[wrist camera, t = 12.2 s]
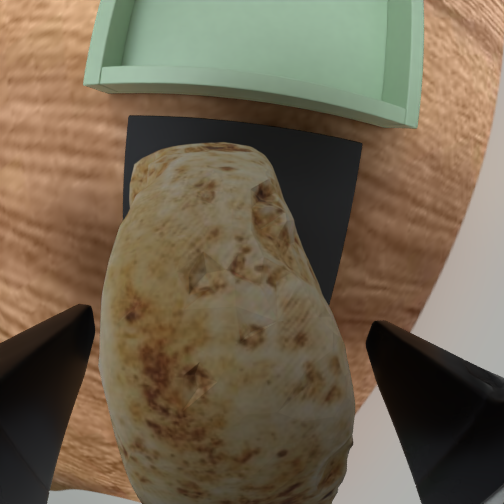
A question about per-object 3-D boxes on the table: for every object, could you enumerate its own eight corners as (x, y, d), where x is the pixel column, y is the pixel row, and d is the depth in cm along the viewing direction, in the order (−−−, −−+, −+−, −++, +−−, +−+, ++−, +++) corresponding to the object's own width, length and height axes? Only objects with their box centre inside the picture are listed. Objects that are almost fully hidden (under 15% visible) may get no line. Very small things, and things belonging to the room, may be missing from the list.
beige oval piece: (290, 357, 15) (352, 550, 5) (215, 371, 14) (227, 572, 5) (258, 130, 11) (462, 123, 1) (157, 149, 11) (-65, 234, 1)
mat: (358, 142, 12) (362, 143, 11) (305, 377, 16) (306, 382, 15) (130, 116, 10) (128, 115, 10) (134, 369, 14) (133, 375, 14)
